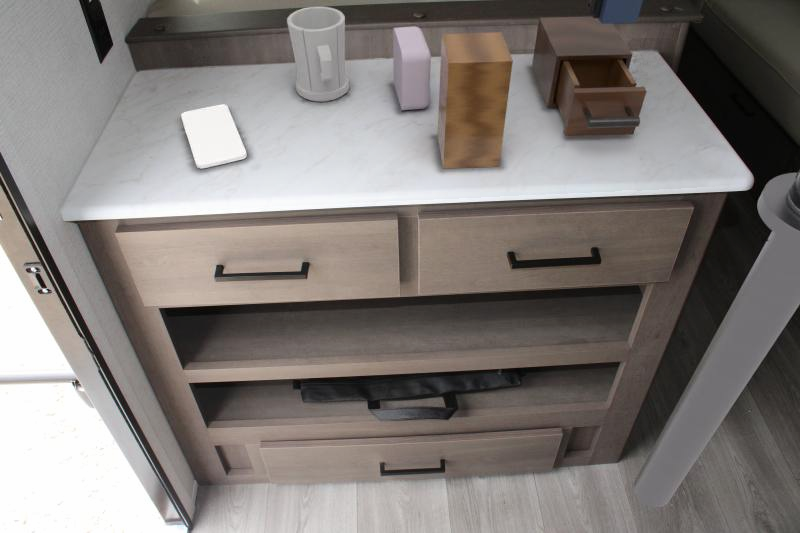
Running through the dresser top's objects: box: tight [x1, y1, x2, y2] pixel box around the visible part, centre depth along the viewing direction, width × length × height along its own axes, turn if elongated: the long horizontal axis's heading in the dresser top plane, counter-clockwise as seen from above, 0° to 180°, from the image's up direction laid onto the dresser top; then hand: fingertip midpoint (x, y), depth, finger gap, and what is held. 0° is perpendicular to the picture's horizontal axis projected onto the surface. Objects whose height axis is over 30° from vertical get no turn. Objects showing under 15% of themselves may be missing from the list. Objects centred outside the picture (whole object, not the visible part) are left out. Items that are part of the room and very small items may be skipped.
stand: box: [437, 31, 514, 169], centre depth 86 cm, size 8×8×16 cm
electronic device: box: [392, 25, 432, 111], centre depth 100 cm, size 10×5×10 cm, turn 8°
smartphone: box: [180, 103, 248, 169], centre depth 95 cm, size 7×1×15 cm
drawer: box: [554, 59, 647, 137], centre depth 94 cm, size 17×10×7 cm, turn 2°
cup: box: [286, 6, 350, 103], centre depth 100 cm, size 10×9×12 cm
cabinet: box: [531, 15, 633, 110], centre depth 102 cm, size 13×11×9 cm
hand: (614, 14), depth 86 cm, fingers closed on block, 4 cm apart
